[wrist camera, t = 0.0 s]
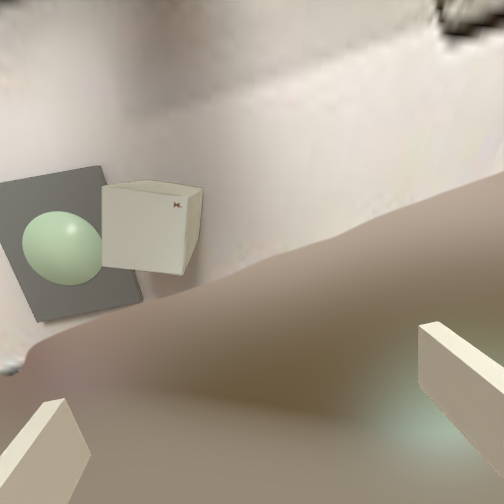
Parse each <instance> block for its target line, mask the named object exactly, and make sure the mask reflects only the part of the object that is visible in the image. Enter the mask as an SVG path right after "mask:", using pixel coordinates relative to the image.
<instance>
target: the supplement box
mask: <svg viewBox="0 0 504 504" xmlns="http://www.w3.org/2000/svg"><path fill="white" fill-rule="evenodd" d="M202 198H203V188H200V187H193V186H187V185H181V184H174V183H167V182H160V181H153V180H142V181H134V182H127V183H119V184H112V185H105V186H102V266H103V267H113V268H122V269H132V270H140V271H148V272H156V273H163V274H171V275H179V276H182V275H183V274H184V272H185V270H186V268H187V266H188V263H189V261H190V258H191V256H192V253H193V251H194V249H195V246H196V244H197V242H198V238H199V230H200V220H201V210H202Z"/></svg>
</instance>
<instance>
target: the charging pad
mask: <svg viewBox="0 0 504 504" xmlns="http://www.w3.org/2000/svg"><path fill="white" fill-rule="evenodd" d="M105 185H107V184H106V181H105V178H104V174H103V171H102V168H101V166H92V167H86V168H80V169H75V170H69V171H64V172H58V173H53V174H47V175H41V176H36V177H30V178H25V179H19V180H13V181H8V182H2V183H0V243H1V245H2V247H3V249H4V251H5V254H6V256H7V258H8V260H9V262H10V265H11V267H12V269H13V271H14V273H15V275H16V278H17V280H18V282H19V284H20V286H21V289H22V291H23V293H24V295H25V297H26V300H27V302H28V304H29V306H30V308H31V310H32V313H33V315H34V317H35V319H36V321H37V323H38V322H43V321H48V320H53V319H58V318H63V317H68V316H73V315H79V314H84V313H89V312H94V311H99V310H104V309H109V308H114V307H119V306H125V305H130V304H135V303H140V302H141V301H142V300H143V296H142V293H141V290H140V287H139V284H138V281H137V277H136V274H135V271H134V270H132V269H122V268H113V267H103V266H102V186H105Z"/></svg>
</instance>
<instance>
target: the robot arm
mask: <svg viewBox="0 0 504 504" xmlns="http://www.w3.org/2000/svg"><path fill="white" fill-rule="evenodd" d="M418 348H419V349H418V351H419V352H418V354H419V355H418V357H419V358H418V360H419V361H418V362H419V363H418V372H419V373H418V374H419V375H418V382H419V383H418V385H419V386H420V387H421V388H422V390H423V391H424V392H425V393H426V394H427V395H428V396H429V397H430V398H431V399H432V401H433V402H434V403H435V404H436V405H437V406H438V407H439V409H440V410H441V411H442V412H443V413H444V414H445V415H446V416H447V417H448V419H449V420H450V421H451V422H452V423H453V424H454V425H455V426H456V427H457V429H458V430H459V431H460V432H461V433H462V434H463V435H464V436H465V438H466V439H467V440H468V441H469V442H470V443H471V444H472V445H473V446H474V448H475V449H476V450H477V451H478V452H479V453H480V454H481V455H482V456H483V458H484V459H485V460H486V461H487V462H488V463H489V464H490V465H491V467H493V469H494V470H495V471H496V472H497V473H498V474H499V475H500V477H501V478H502V479H503V480H504V368H503V367H502V366H500V365H499V364H497V363H496V362H495V361H493V360H492V359H491V358H489V357H487V356H486V355H485V354H483V353H482V352H481V351H479V350H478V349H476V348H475V347H474V346H472V345H471V344H469V343H468V342H467V341H465V340H464V339H462V338H461V337H460V336H458V335H457V334H455V333H454V332H452V331H451V330H450V329H448V328H447V327H445V326H444V325H443V324H441V323H440V322H433V323H428V324H423V325H419V347H418ZM90 456H91V453H90V451H89V448H88V446H87V444H86V442H85V440H84V438H83V436H82V434H81V431H80V429H79V427H78V425H77V423H76V421H75V419H74V417H73V414H72V412H71V410H70V408H69V406H68V404H67V401H66V399H65V398H63V399H58V400H53V401H49V402H44V403H43V404H42V405H41V406H40V407H39V409H38V410H37V411H36V412H35V414H34V415H33V416H32V418H31V419H30V420H29V421H28V422H27V424H26V425H25V426H24V427H23V429H22V430H21V431H20V433H19V434H18V435H17V436H16V438H15V439H14V440H13V441H12V442H11V444H10V445H9V446H8V448H7V449H6V450H5V451H4V453H3V454H2V455H1V456H0V504H68V502H69V499H70V497H71V495H72V493H73V491H74V489H75V487H76V485H77V483H78V481H79V479H80V477H81V475H82V472H83V470H84V468H85V466H86V464H87V462H88V460H89V458H90Z"/></svg>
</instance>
